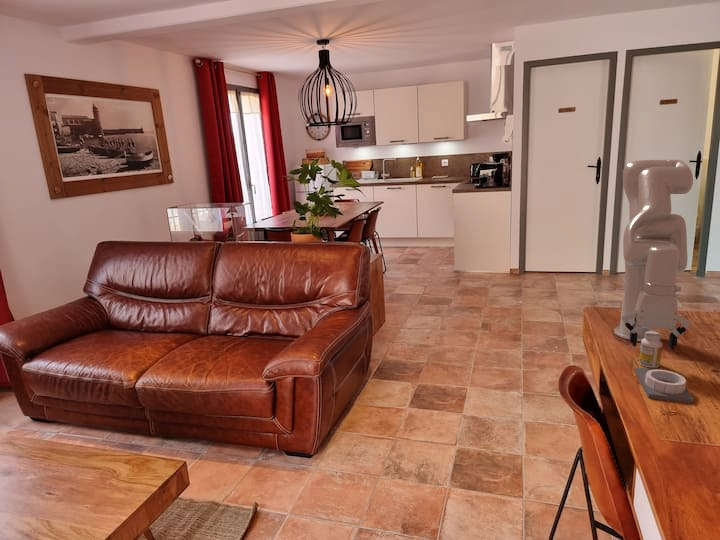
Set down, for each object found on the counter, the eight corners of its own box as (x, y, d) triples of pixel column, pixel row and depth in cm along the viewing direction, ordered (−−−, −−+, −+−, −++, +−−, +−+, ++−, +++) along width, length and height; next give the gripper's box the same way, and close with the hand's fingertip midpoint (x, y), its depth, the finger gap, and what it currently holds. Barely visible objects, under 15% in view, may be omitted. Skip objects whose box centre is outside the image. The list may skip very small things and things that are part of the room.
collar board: (634, 371, 140) (636, 359, 139) (674, 375, 137) (676, 363, 136) (648, 398, 125) (650, 385, 124) (693, 403, 122) (695, 389, 121)
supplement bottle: (654, 360, 146) (658, 330, 144) (663, 368, 141) (667, 337, 138) (635, 360, 146) (639, 330, 144) (643, 368, 141) (647, 337, 139)
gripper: (689, 288, 139) (682, 344, 142) (622, 284, 144) (616, 339, 147) (699, 294, 132) (690, 354, 135) (627, 290, 137) (621, 348, 140)
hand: (652, 346), depth 141 cm, fingers open, 9 cm apart
